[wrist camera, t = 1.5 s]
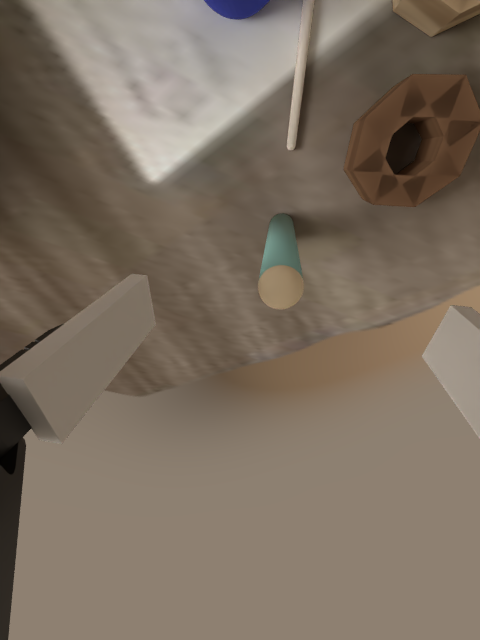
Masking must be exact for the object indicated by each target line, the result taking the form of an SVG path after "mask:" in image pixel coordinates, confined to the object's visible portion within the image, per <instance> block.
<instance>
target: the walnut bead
mask: <svg viewBox="0 0 480 640" xmlns="http://www.w3.org/2000/svg"><path fill="white" fill-rule="evenodd" d="M405 123H414V125H415V127H416V129H417V131H418V133H419V135H420V137H421V139H422V140H421V143H420V146H419V149H418V152H417V155H416V157H415V160H414V161H413V162H412V163H410V164H409V165H408V166H407V167H405V168H404V169H403V170H401V171H400V172H399V173H398V174H394V173H393V172H392V170H391V168H390V166H389V164H388V163H387V161H386V159H385V157H386V154H387V151H388V147H389V144H390V141H391V137H392V134H394V133H395V132H396V131H397V130H398V129H399V128H401V127H402V126H403V125H404V124H405ZM479 132H480V109H479V107H478V104H477V101H476V99H475V96H474V94H473V91H472V89H471V86H470V84H469V81H468V79H467V76H466V75H442V74H412V75H410V76H409V77H407V78H406V79H404V80H403V81H401V82H400V83H398V84H397V85H395V86H394V87H392V88H391V89H390V90H389V91H388V92H387V93H386V94H385V95H384V96H383V97H382V98H381V99H380V100H378V101H377V102H376V103H375V104H374V105H373V106H372V107H371V108H370V109H369V110H368V111H367V112H366V113H365V114H364V115H362V116H361V117H360V118H359V119H358V120H357V121H356V122H355V123H354V125H353V129H352V134H351V138H350V143H349V147H348V151H347V156H346V160H345V165H344V171H345V173H346V174H347V176H348V177H349V179H350V181H351V182H352V184H353V185H354V187H355V188H356V190H357V192H358V193H359V195H360V196H361V198H362V199H363V200H365V201H367V202H369V203H371V204H373V205H389V206H406V207H416V206H417V205H419V204H420V203H421V202H423V201H424V200H426V199H427V198H429V197H430V196H432V195H433V194H434V193H436V192H437V191H439V190H440V189H442V188H443V187H445V186H446V185H447V184H449V183H450V182H452V181H453V180H455V179H456V178H458V177H459V176H460V174H461V172H462V170H463V168H464V166H465V163H466V161H467V159H468V157H469V154H470V152H471V150H472V148H473V145H474V143H475V141H476V139H477V137H478V134H479Z"/></svg>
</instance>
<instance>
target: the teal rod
mask: <svg viewBox="0 0 480 640" xmlns="http://www.w3.org/2000/svg"><path fill="white" fill-rule="evenodd" d="M303 290H304V282H303V276H302V271H301V265H300V259H299V253H298V248H297V242H296V236H295V231H294V225H293V221H292V219H291V217H290V216H288V215H287V214H277V215H275V216H274V217H273V218H272V219H271V221H270V225H269V230H268V235H267V240H266V246H265V251H264V256H263V261H262V267H261V272H260V277H259V282H258V292H259V295H260V297H261V299H262V300H263V302H264V303H265V304H266V305H268V306H270V307H271V308H274V309H287V308H289V307H292V306H293V305H295V304H296V303H297V302H298V301H299V299H300V298H301V296H302V294H303Z"/></svg>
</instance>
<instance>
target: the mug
mask: <svg viewBox="0 0 480 640" xmlns="http://www.w3.org/2000/svg"><path fill="white" fill-rule="evenodd" d="M204 1H205V2H206V3H207V4H208V6H209V7H211V8H212V9H213V10H214V11H215V12H217V13H218V14H220V15H222V16H224V17H226V18H230V19H244V18H248V17H250V16H252V15H254V14H255V13H257V12H258V11H260V10H261V9H262V8H263V7H264V6H265V5H266V4H267V3H268V1H269V0H204Z"/></svg>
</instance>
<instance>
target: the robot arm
mask: <svg viewBox="0 0 480 640" xmlns="http://www.w3.org/2000/svg"><path fill="white" fill-rule="evenodd" d="M155 325H156V323H155V317H154V311H153V306H152V300H151V294H150V289H149V283H148V277H147V275H138V274H131V275H130V276H128V277H127V278H126V279H124V280H123V281H121V282H120V283H119V284H117V285H116V286H115V287H113V288H112V289H111V290H109V291H108V292H107V293H105V294H104V295H103V296H101V297H100V298H99V299H97V300H96V301H94V302H93V303H92V304H90V305H89V306H88V307H86V308H85V309H84V310H82V311H81V312H80V313H78V314H77V315H76V316H74V317H73V318H72V319H70V320H69V321H68V322H66V323H65V324H62V325H59V326H57V327H55V328H53V329H51V330H48V331H47V332H45V333H44V334H43V335H41V336H40V337H38V338H37V339H36V340H35V342H31V343H30V344H29V345H27V346H26V347H24V350H20V351H19V352H18V353H16V354H15V355H13V356H12V357H11V358H9V359H8V360H6V361H5V362H4V363H2V364H1V365H0V640H8V634H9V623H10V612H11V602H12V601H11V600H12V591H13V580H14V570H15V559H16V548H17V537H18V527H19V515H20V505H21V494H22V484H23V473H24V462H25V451H26V444H25V440H24V439H23V436H24V435H25V434H26V433H27V432H28V431H29V430H30V429H32V430H33V431H34V433H35V434H36V436H37V437H38V439H39V440H43V441H48V442H54V443H60V444H62V443H63V442H64V441H65V439H66V438H67V437H68V436H69V434H70V433H71V432H72V431H73V429H74V428H75V427H76V426H77V424H78V423H79V422H80V420H81V419H82V418H83V417H84V415H85V414H86V413H87V411H88V410H89V409H90V408H91V406H92V405H93V404H94V402H95V401H96V400H97V399H98V398H99V396H100V395H101V394H102V392H103V391H104V390H105V389H106V387H107V386H108V385H109V384H110V382H111V381H112V380H113V378H114V377H115V376H116V375H117V373H118V372H119V371H120V370H121V368H122V367H123V366H124V364H125V363H126V362H127V361H128V359H129V358H130V357H131V356H132V354H133V353H134V352H135V350H136V349H137V348H138V347H139V345H140V344H141V343H142V342H143V340H144V339H145V338H146V336H147V335H148V334H149V333H150V331H151V330H152V329H153V327H154V326H155ZM422 357H423V358H424V360H425V362H426V363H427V364H428V366H429V367H430V369H431V370H432V372H433V373H434V374H435V376H436V377H437V379H438V380H439V381H440V383H441V384H442V386H443V387H444V389H445V390H446V391H447V393H448V394H449V396H450V397H451V399H452V400H453V401H454V403H455V404H456V406H457V407H458V409H459V410H460V411H461V413H462V414H463V416H464V417H465V418H466V420H467V421H468V423H469V424H470V426H471V427H472V429H473V430H474V431H475V433H476V434H477V436H478V437H479V438H480V314H479V313H478V312H477V311H475V310H474V309H473V308H472V307H465V306H455V305H451V306H450V307H449V309H448V311H447V313H446V314H445V316H444V318H443V320H442V321H441V323H440V325H439V327H438V329H437V330H436V332H435V334H434V336H433V337H432V339H431V341H430V343H429V344H428V346H427V348H426V350H425V352H424V353H423V355H422Z"/></svg>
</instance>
